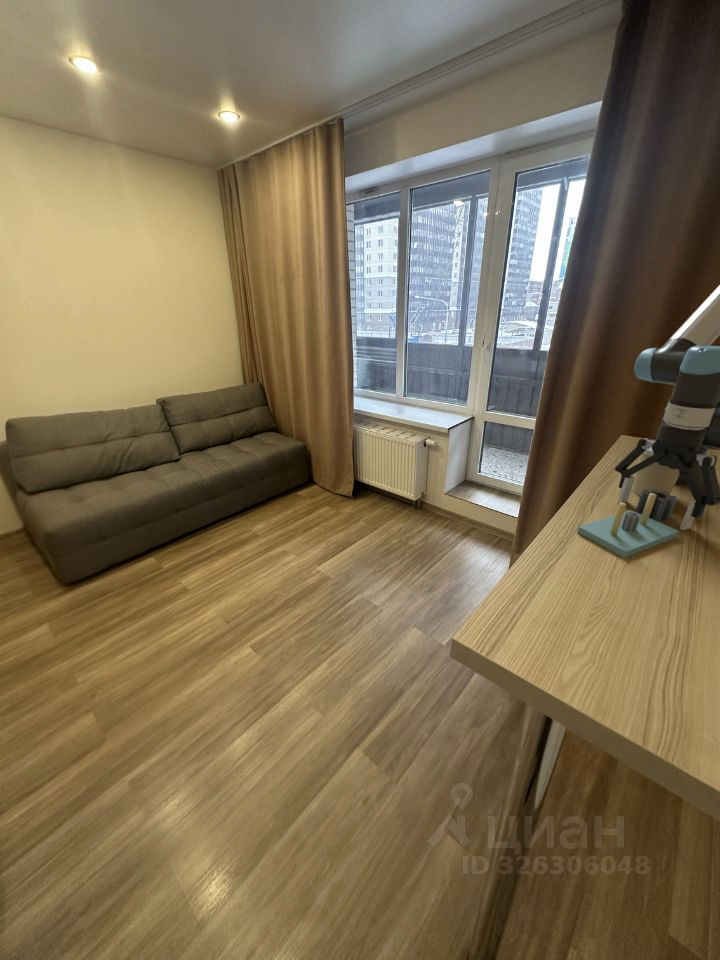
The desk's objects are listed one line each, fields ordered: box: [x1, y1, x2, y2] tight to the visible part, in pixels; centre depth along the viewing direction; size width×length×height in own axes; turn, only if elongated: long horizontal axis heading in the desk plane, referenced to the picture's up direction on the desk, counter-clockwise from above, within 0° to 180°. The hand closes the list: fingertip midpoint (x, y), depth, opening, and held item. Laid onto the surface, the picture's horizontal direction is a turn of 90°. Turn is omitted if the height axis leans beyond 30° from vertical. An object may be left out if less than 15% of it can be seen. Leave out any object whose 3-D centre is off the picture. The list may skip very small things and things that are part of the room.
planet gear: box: [635, 489, 678, 522], centre depth 86 cm, size 6×6×5 cm
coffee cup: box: [631, 447, 680, 497], centre depth 94 cm, size 9×9×12 cm
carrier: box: [577, 493, 680, 559], centre depth 77 cm, size 17×10×8 cm, turn 114°
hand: (651, 514), depth 87 cm, fingers open, 13 cm apart
